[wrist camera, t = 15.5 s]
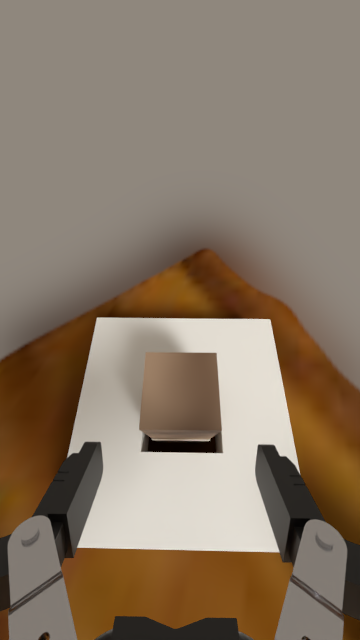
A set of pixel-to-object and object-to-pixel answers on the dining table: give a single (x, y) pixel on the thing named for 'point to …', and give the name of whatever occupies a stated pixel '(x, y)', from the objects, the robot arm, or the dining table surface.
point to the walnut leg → (180, 397)
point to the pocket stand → (172, 467)
